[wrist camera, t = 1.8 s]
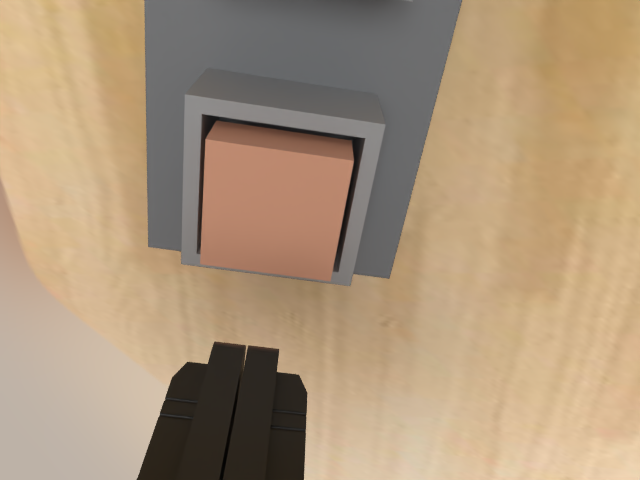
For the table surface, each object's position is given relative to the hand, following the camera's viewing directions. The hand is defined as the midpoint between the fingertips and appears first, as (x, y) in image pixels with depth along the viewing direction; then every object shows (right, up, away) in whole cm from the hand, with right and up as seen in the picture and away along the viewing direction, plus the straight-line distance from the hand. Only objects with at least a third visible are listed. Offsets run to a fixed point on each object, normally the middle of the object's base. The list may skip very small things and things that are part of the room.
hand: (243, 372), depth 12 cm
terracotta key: (0, +5, +8) cm, 10 cm away
